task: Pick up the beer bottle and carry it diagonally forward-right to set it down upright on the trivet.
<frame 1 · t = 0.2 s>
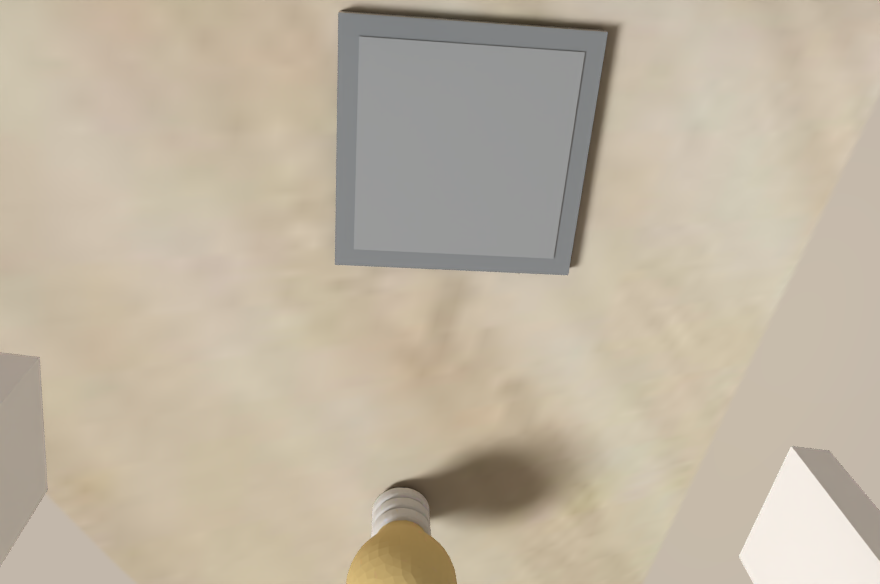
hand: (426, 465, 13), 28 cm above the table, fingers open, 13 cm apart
trivet: (462, 151, 39), on the table
light bulb: (400, 501, 49), on the table
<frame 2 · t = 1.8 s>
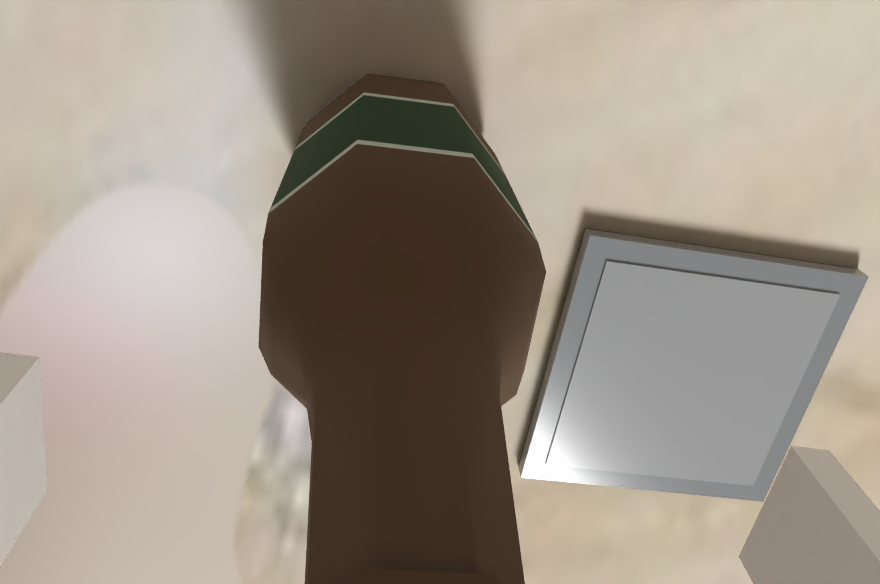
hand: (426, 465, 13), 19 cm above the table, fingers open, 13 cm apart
trivet: (679, 373, 36), on the table
beer bottle: (395, 163, 30), on the table
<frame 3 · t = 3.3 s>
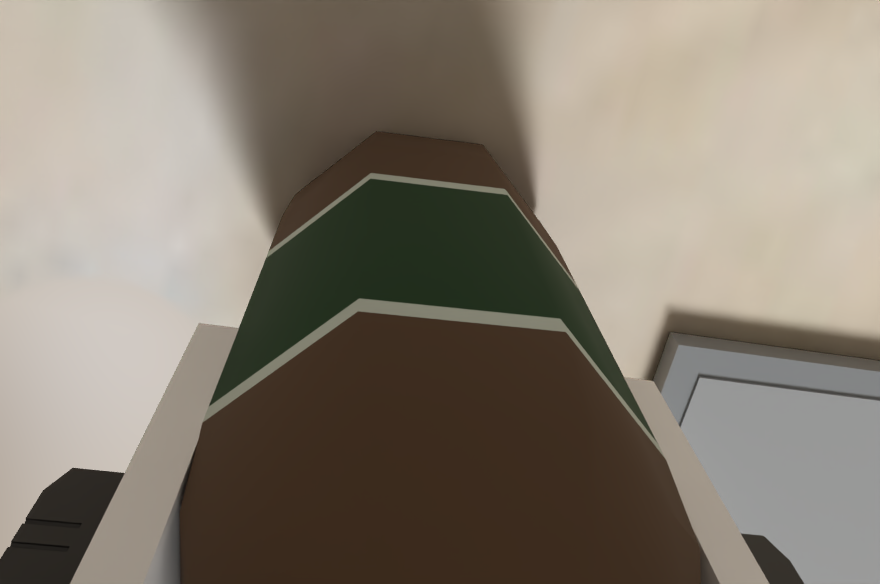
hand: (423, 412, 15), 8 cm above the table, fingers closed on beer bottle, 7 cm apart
trivet: (782, 508, 27), on the table
beer bottle: (413, 248, 22), on the table, touching gripper
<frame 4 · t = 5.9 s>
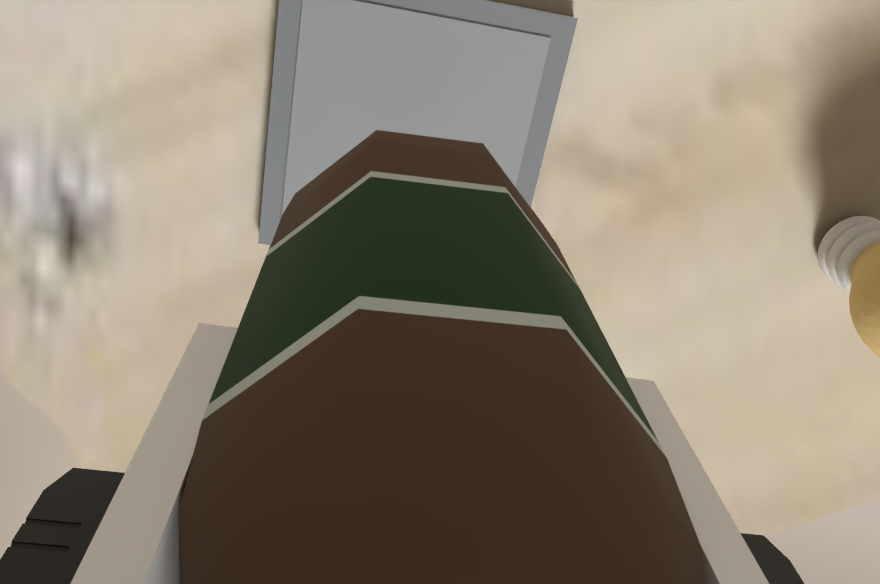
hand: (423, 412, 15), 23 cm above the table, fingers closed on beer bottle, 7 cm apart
trivet: (408, 132, 36), on the table
beer bottle: (413, 247, 22), point 15 cm above the table, touching gripper
light bulb: (844, 242, 40), on the table
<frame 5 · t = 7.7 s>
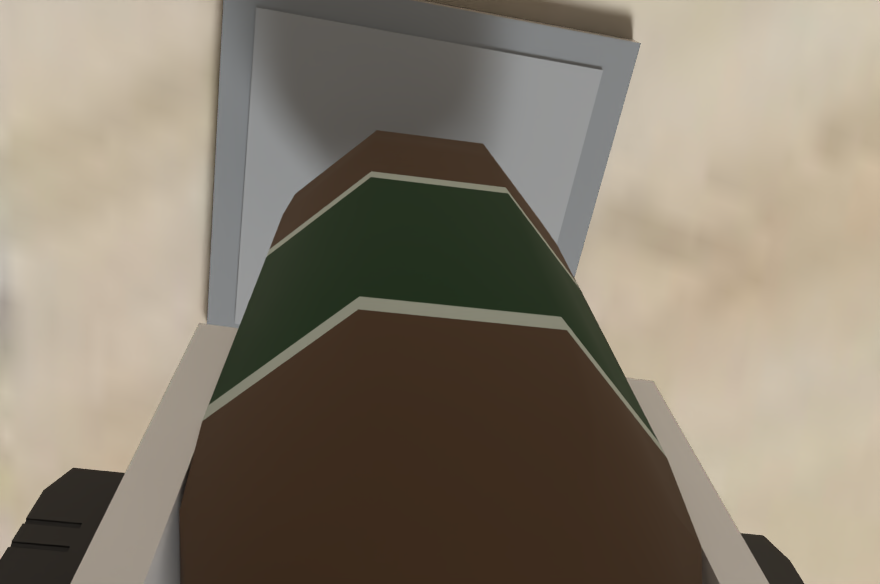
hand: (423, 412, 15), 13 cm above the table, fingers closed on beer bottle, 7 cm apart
trivet: (406, 196, 26), on the table
beer bottle: (413, 247, 22), point 5 cm above the table, touching gripper
when the fingers open (10 cm above the table, at t = 8.9 s): beer bottle stays where it is, resting on trivet.
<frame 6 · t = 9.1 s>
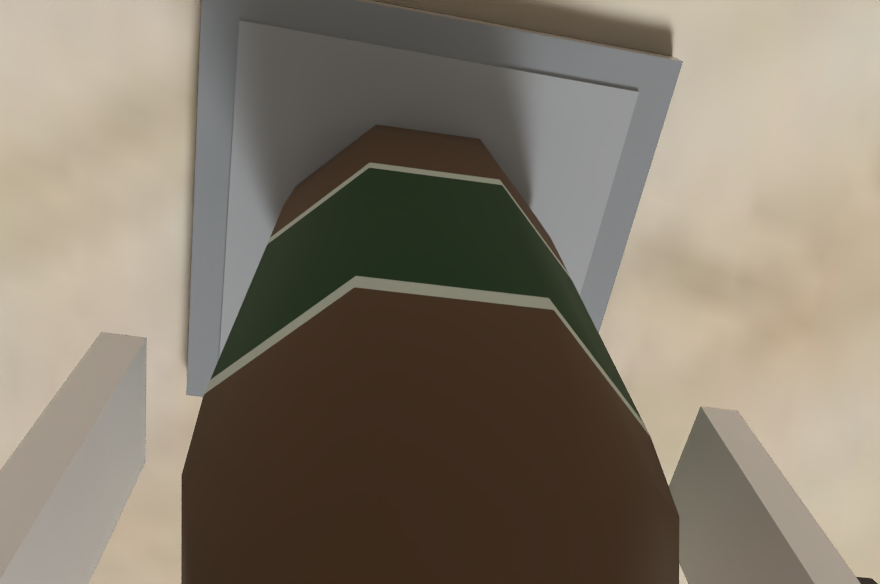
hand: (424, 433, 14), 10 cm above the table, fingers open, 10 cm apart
trivet: (412, 232, 23), on the table
beer bottle: (411, 240, 22), point 1 cm above the table, touching trivet
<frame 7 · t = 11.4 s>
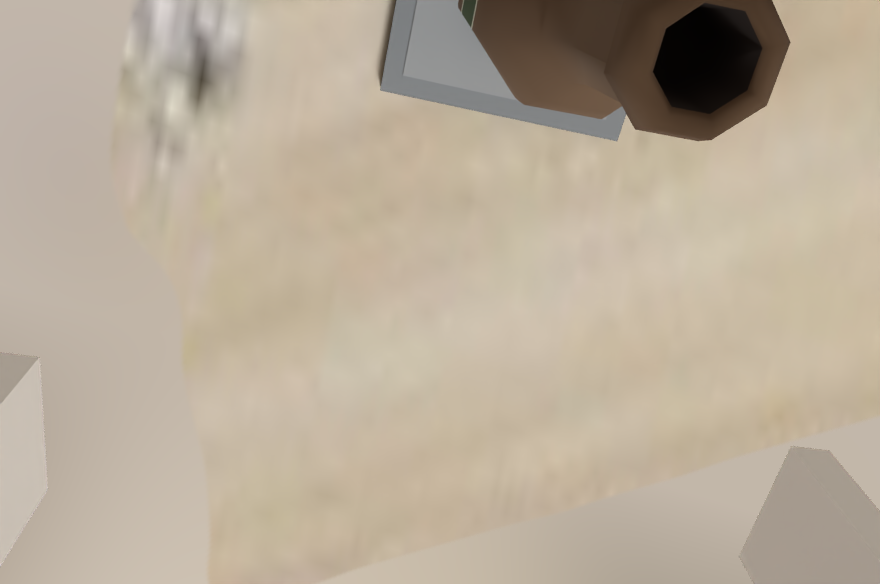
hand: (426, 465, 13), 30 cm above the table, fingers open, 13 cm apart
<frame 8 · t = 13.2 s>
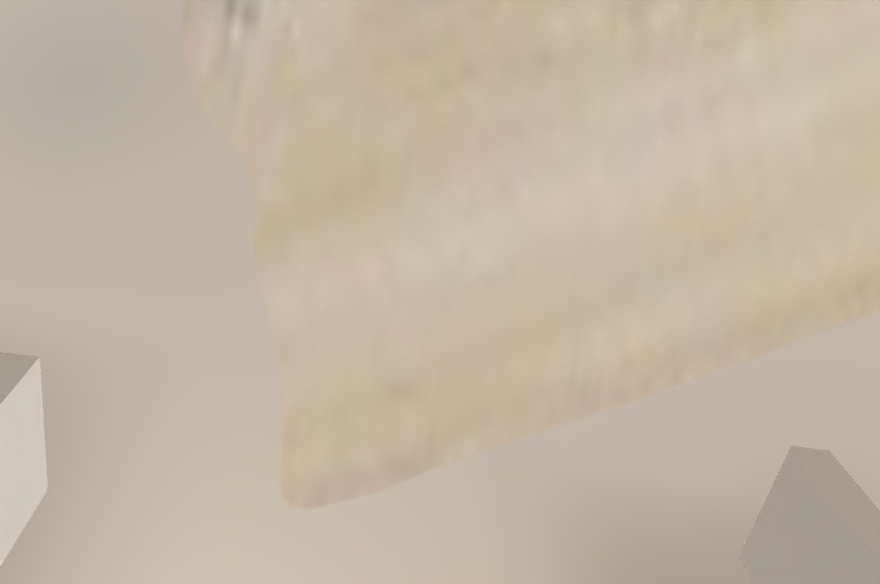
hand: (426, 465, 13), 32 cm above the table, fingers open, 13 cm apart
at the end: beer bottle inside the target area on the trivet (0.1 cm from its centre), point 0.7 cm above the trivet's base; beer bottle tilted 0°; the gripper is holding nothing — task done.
